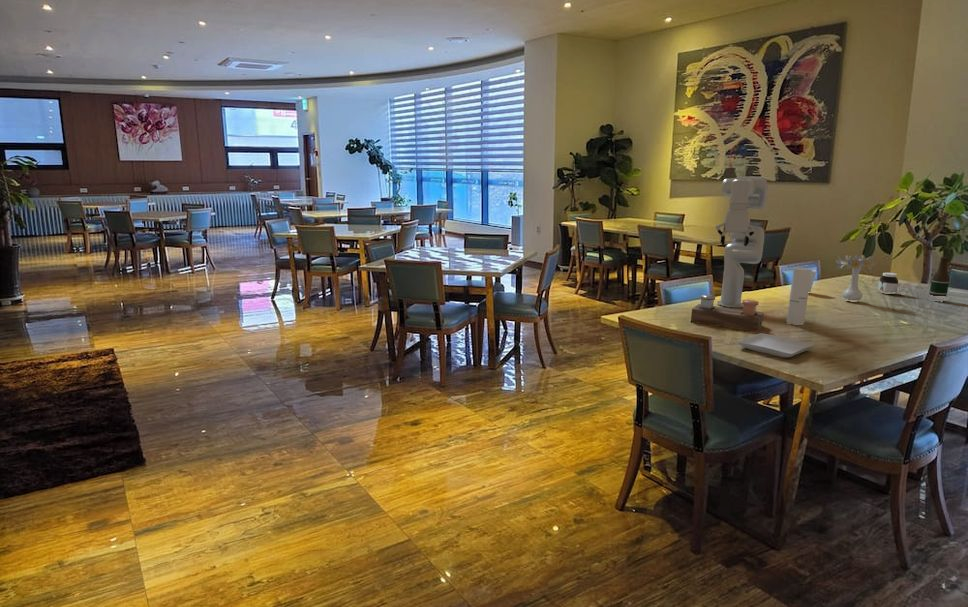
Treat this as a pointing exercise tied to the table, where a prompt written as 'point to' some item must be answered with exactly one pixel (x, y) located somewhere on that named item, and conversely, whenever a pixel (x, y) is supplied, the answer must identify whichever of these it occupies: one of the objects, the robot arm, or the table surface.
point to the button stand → (727, 318)
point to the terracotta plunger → (749, 307)
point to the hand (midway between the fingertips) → (734, 245)
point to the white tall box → (798, 296)
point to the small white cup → (707, 301)
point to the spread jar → (889, 283)
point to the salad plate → (775, 345)
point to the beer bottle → (940, 279)
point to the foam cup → (812, 279)
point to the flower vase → (854, 274)
